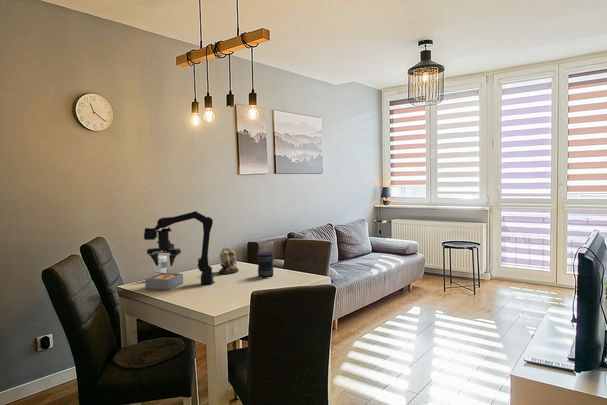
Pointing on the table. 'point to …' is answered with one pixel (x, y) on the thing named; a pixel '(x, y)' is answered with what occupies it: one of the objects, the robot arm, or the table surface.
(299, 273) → the table surface
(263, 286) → the table surface
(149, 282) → the grey crate
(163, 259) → the syrup box
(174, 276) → the orange crate
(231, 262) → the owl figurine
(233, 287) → the table surface
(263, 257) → the storage jar
